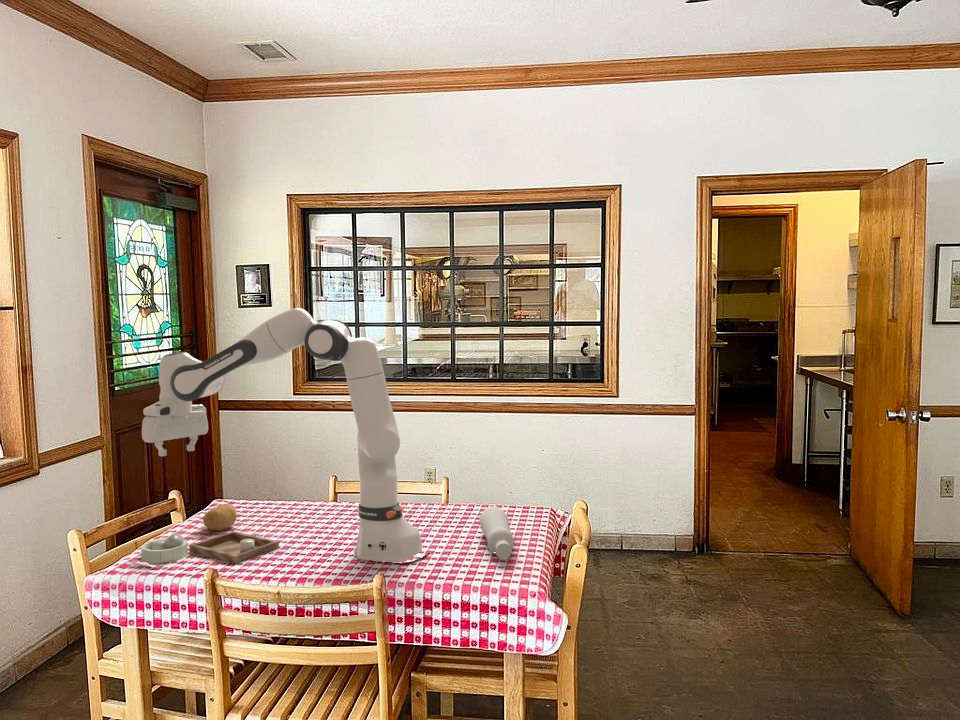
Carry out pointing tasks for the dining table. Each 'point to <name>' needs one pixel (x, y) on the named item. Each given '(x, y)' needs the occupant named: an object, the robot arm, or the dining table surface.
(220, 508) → the potato
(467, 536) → the dining table surface
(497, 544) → the bottle
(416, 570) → the dining table surface
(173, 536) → the pebble
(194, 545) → the tray
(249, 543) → the pebble
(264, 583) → the dining table surface
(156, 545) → the pebble
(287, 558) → the dining table surface
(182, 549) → the bowl
